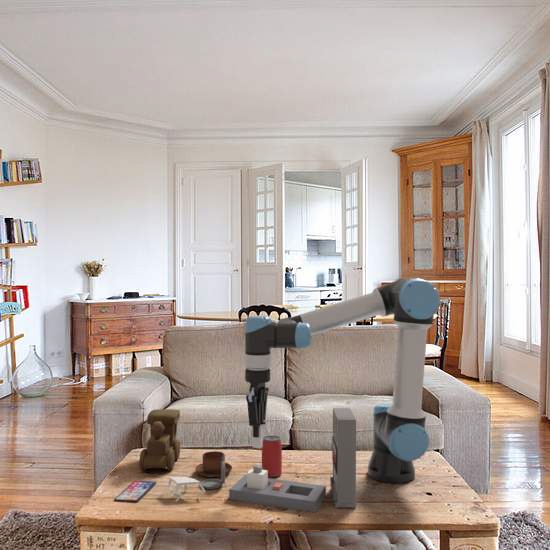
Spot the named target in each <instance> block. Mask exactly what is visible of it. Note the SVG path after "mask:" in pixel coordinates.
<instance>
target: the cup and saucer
mask: <svg viewBox="0 0 550 550" xmlns="http://www.w3.org/2000/svg"><path fill="white" fill-rule="evenodd" d="M223 454H224V455H223ZM222 456H224V461H225V476H226V475H228V474H229V473H230V472H231V471H232V470H233V466H232V465H231V464H230V463H227V462H226V453H224V452H222V451H218V450H217V451H215V450H214V451H208V452H207V451H206V452H205V453H203V454H202V463H199V464H198V465H196V466H195V472H196V473H197V474H198V475H199V476H202V477H208V478H217V477H221V462H222Z"/></svg>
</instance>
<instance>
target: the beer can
mask: <svg viewBox="0 0 550 550" xmlns="http://www.w3.org/2000/svg"><path fill="white" fill-rule="evenodd" d="M282 449H283V445H282V441H281V437H280V436H278V435H266V436H264V437H263V447H262V448H261V466H262V470H268V478H278V477H279V476H281V475H282V474H283V473H282V472H283V471H282V470H283V468H282V467H283V466H282V465H283V464H282V461H283V450H282Z"/></svg>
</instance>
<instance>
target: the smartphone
mask: <svg viewBox="0 0 550 550" xmlns="http://www.w3.org/2000/svg"><path fill="white" fill-rule="evenodd" d="M156 485H157V482H156V481H153V480H151V481H149V480H134V481H132V482H131V483H130V484H129V485H128V486H127V487H126V488H124V489H123V490H122V491H121V492H120V493H119V494H118V495H117V496H116V497H115V498H114V499H113V501H114V502H119V503H120V502H121V503H124V502H125V503H133V504H135V503H136V504H137V503H139V502H140V501H141V500H142V499H143V498H144V497H145V495H147V494H148V493H149V492H150V491H151V490H152V489H153V487H155V486H156Z"/></svg>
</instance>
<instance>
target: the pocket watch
mask: <svg viewBox="0 0 550 550" xmlns="http://www.w3.org/2000/svg"><path fill="white" fill-rule="evenodd" d="M224 454H225V453H224ZM224 454H223V455H224ZM225 463H226V460H225V461H224V456H222V462H221V476H220V479H218V478H208V479H204V480H202V481H200V483H201V485H202V486H203V488H204V489H208V490H212V489H218V488H220V487H222V485H224V484H225V483H226V475H225Z"/></svg>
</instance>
